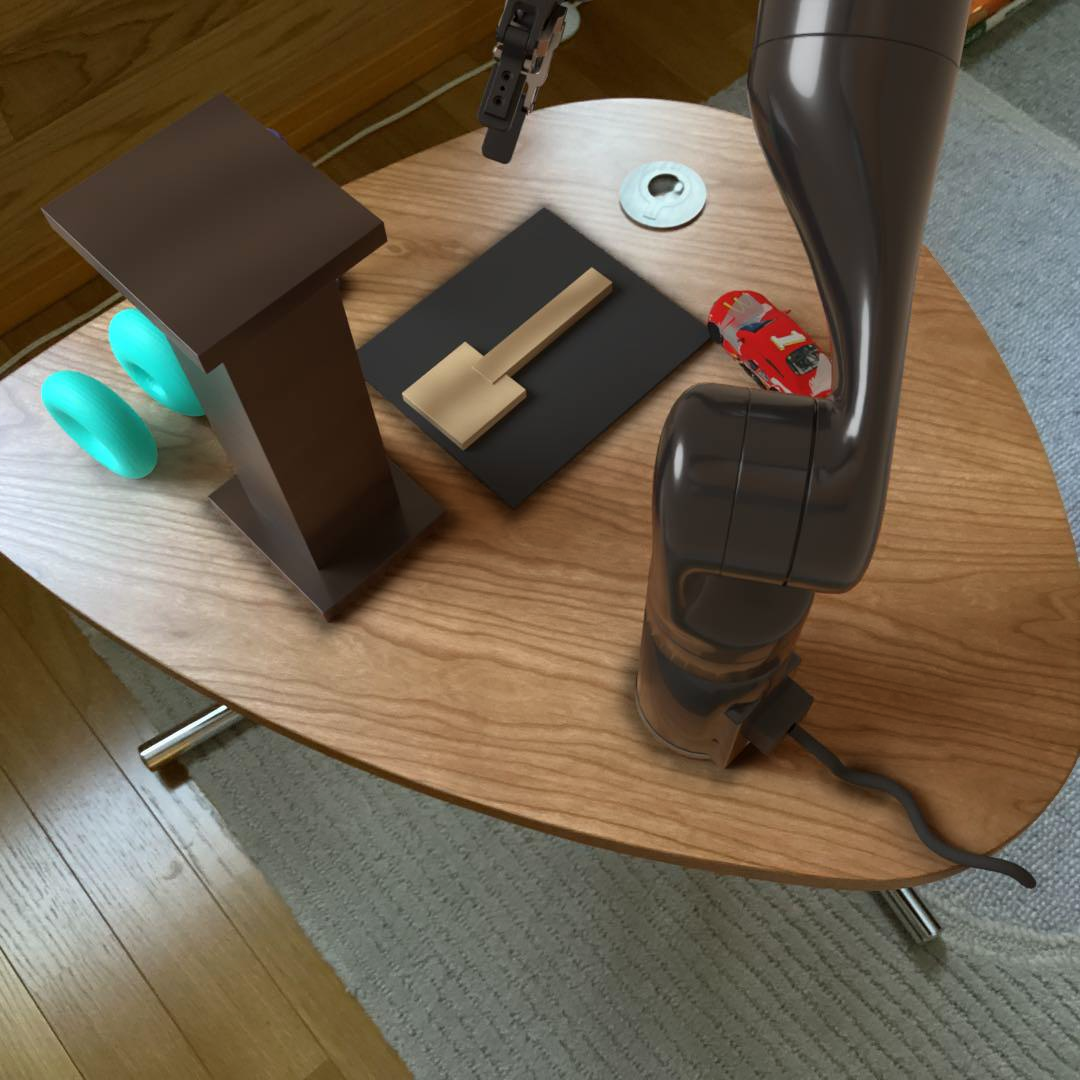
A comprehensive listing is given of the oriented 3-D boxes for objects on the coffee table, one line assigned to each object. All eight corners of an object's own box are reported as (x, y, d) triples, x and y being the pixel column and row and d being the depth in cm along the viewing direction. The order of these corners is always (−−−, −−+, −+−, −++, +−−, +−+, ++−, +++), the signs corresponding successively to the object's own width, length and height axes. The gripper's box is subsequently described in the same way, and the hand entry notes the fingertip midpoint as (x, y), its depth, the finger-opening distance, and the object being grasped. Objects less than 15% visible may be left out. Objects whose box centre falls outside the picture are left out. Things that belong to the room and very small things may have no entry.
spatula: (632, 306, 97) (633, 297, 96) (463, 451, 91) (462, 442, 90) (572, 262, 99) (571, 252, 98) (403, 400, 93) (401, 391, 92)
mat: (715, 336, 96) (715, 332, 95) (513, 511, 89) (513, 508, 88) (544, 210, 103) (544, 206, 102) (345, 363, 96) (344, 359, 95)
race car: (692, 322, 96) (699, 289, 92) (744, 294, 97) (753, 261, 94) (795, 434, 91) (806, 405, 87) (848, 403, 92) (861, 373, 89)
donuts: (66, 443, 93) (11, 369, 84) (154, 359, 97) (110, 279, 88) (155, 505, 90) (107, 435, 81) (242, 416, 94) (206, 339, 85)
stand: (448, 520, 88) (383, 221, 60) (327, 623, 85) (197, 356, 56) (331, 413, 93) (220, 91, 65) (212, 506, 90) (39, 207, 61)
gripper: (518, -66, 84) (446, 152, 85) (518, -169, 70) (432, 94, 71) (616, -30, 84) (543, 186, 85) (636, -126, 70) (548, 135, 71)
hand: (493, 144), depth 78 cm, fingers open, 8 cm apart
